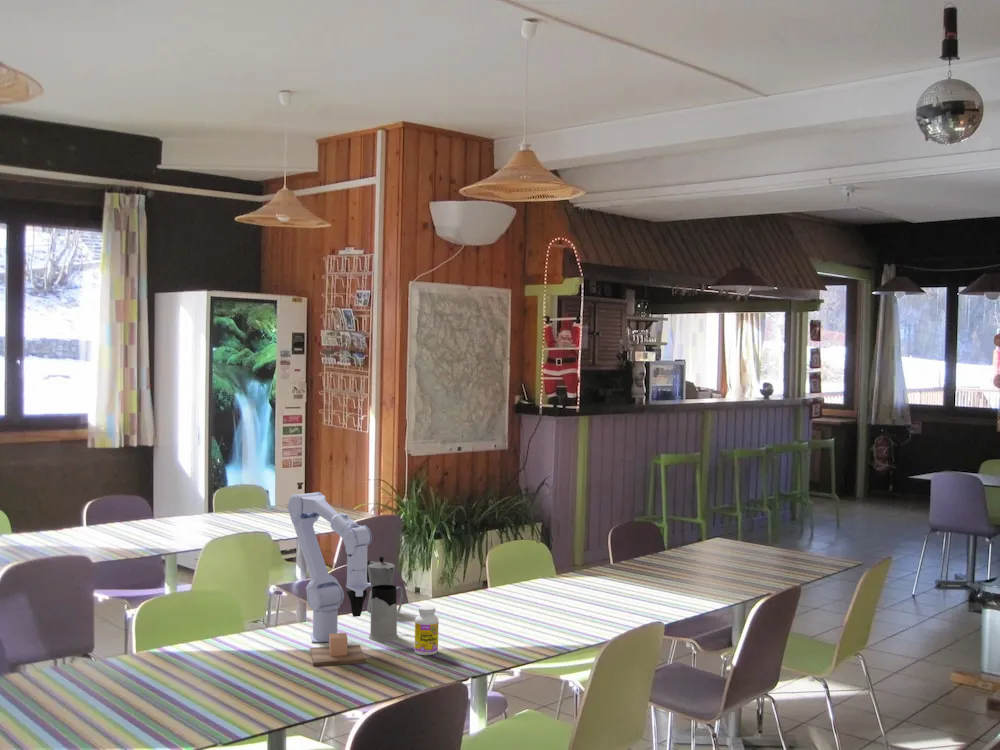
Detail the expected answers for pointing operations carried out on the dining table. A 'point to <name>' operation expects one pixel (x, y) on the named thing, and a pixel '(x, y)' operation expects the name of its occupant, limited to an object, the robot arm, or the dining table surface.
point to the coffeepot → (379, 575)
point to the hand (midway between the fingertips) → (356, 616)
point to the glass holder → (384, 612)
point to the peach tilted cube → (338, 644)
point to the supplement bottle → (426, 631)
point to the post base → (323, 656)
